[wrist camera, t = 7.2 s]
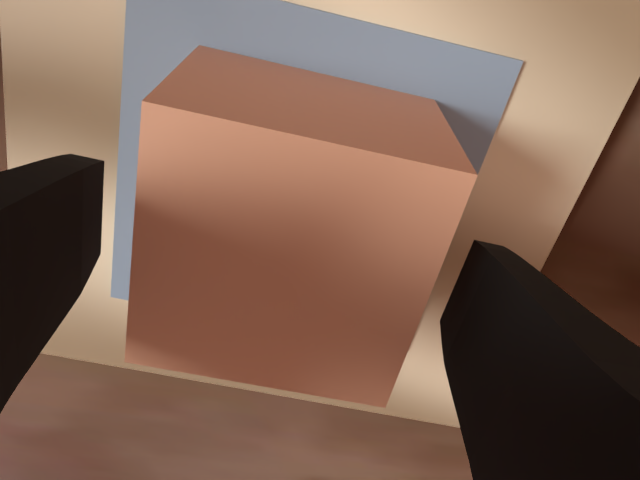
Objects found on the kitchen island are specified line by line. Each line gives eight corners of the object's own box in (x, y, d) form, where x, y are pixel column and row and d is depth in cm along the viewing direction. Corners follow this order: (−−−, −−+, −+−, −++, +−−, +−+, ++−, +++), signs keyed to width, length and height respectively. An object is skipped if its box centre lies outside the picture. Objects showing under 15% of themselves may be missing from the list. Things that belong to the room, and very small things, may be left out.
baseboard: (456, 412, 17) (461, 430, 17) (27, 334, 16) (15, 351, 16) (682, -44, 11) (703, -41, 10) (4, -232, 10) (-18, -241, 9)
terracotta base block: (372, 289, 14) (385, 408, 11) (176, 250, 14) (124, 362, 10) (434, 100, 12) (477, 175, 8) (198, 44, 11) (141, 101, 8)
